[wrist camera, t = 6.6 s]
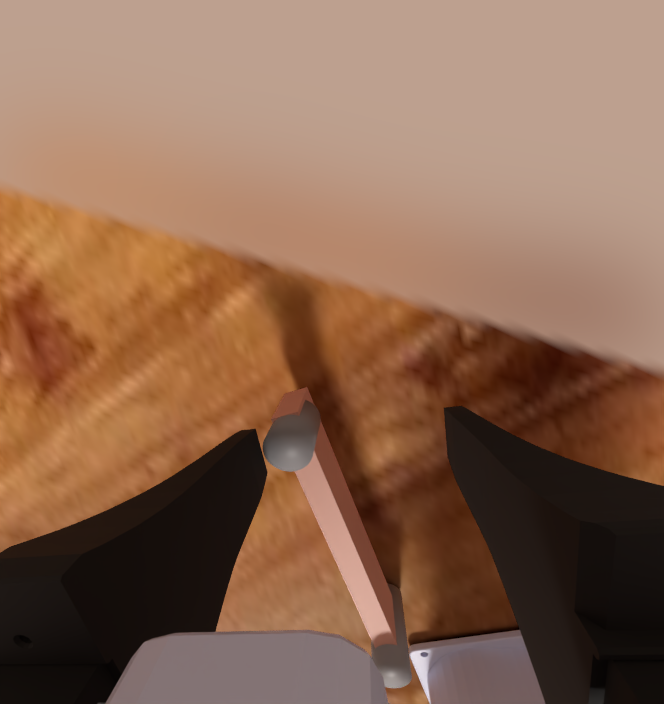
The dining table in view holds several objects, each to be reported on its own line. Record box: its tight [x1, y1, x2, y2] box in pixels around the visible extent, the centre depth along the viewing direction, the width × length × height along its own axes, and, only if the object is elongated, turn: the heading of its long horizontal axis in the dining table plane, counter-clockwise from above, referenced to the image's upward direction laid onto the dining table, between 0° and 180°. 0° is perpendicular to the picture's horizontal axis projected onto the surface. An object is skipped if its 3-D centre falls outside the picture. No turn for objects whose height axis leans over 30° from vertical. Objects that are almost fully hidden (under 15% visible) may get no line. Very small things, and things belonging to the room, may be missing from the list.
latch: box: [263, 387, 412, 688], centre depth 16 cm, size 16×2×4 cm, turn 20°
